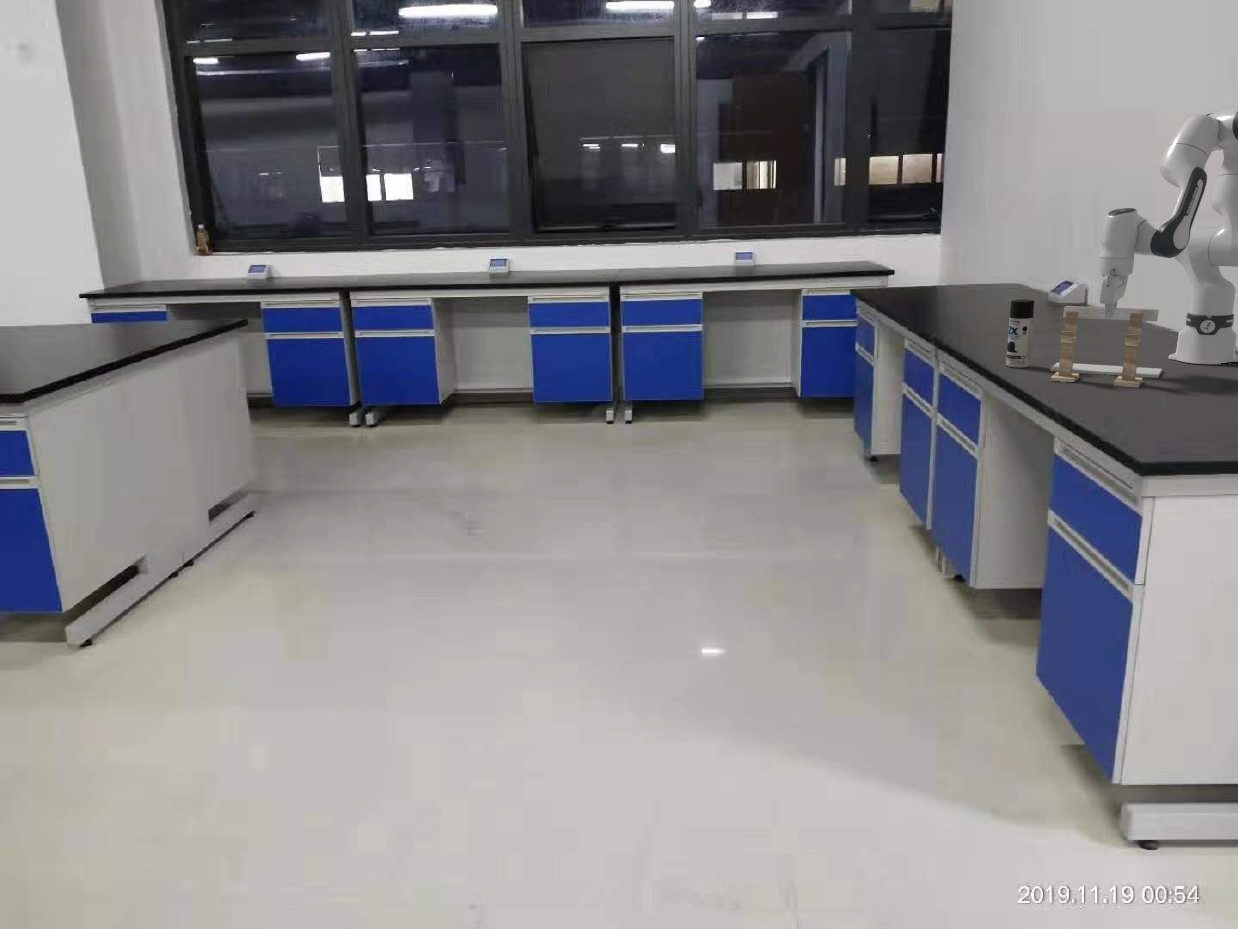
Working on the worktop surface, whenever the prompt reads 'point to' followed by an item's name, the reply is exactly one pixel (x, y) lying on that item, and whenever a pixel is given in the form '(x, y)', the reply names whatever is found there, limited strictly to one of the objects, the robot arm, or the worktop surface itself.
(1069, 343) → the hook post
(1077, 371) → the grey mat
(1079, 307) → the steel bar
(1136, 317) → the hook post
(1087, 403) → the worktop surface
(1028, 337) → the spray can
